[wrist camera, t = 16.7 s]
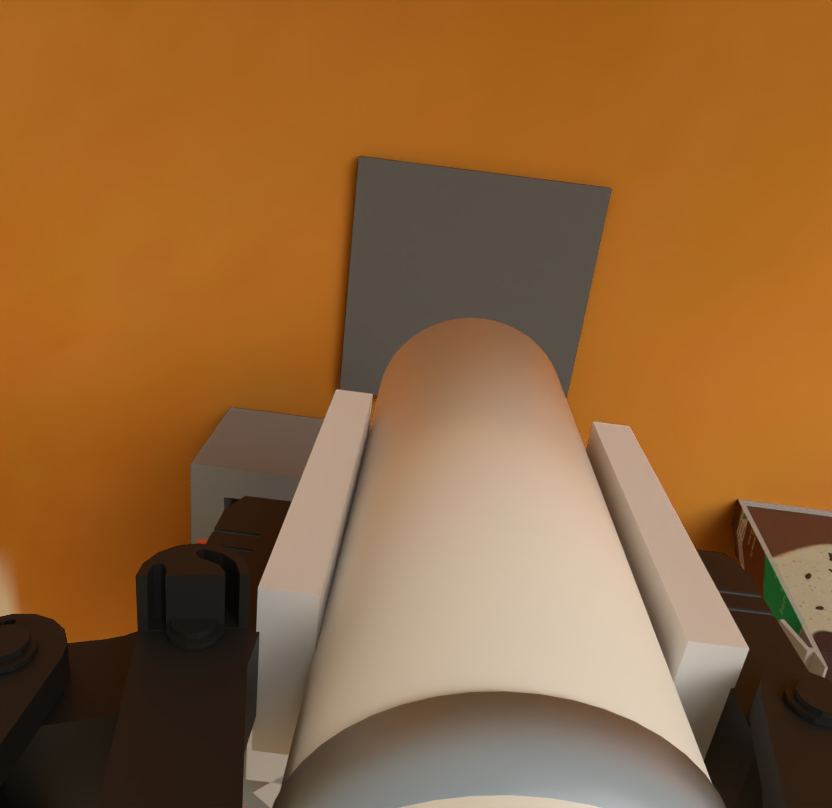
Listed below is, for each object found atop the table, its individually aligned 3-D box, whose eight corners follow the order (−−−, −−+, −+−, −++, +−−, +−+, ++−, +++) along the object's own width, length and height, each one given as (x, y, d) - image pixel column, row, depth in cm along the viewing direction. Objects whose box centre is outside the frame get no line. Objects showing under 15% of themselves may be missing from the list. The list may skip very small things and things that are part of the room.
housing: (230, 406, 30) (170, 491, 24) (613, 455, 30) (656, 553, 24) (225, 712, 37) (177, 842, 31) (538, 752, 37) (556, 890, 31)
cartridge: (385, 303, 17) (200, 887, 5) (581, 328, 18) (943, 979, 5) (367, 476, 19) (200, 1239, 6) (544, 498, 19) (730, 1302, 6)
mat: (360, 155, 26) (358, 156, 26) (609, 187, 26) (611, 188, 26) (340, 387, 30) (339, 391, 29) (560, 415, 30) (561, 419, 29)
